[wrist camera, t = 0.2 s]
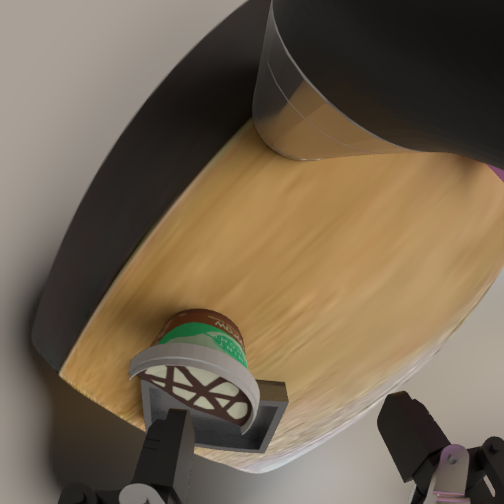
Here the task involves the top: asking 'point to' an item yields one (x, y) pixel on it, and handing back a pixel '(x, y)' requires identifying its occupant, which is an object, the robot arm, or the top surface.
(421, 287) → the top surface
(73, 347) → the top surface
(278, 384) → the grey metal tray
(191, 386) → the grey speckled half-round piece
